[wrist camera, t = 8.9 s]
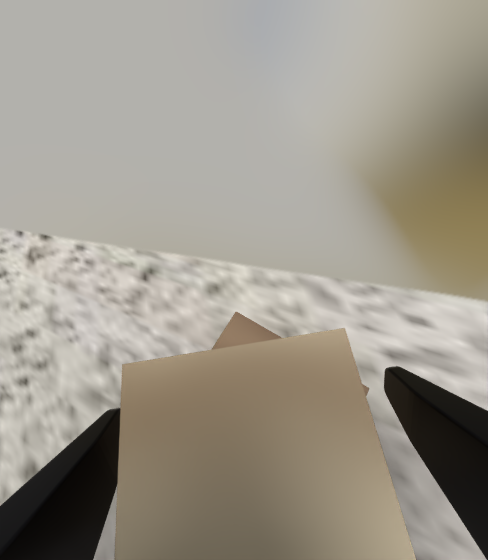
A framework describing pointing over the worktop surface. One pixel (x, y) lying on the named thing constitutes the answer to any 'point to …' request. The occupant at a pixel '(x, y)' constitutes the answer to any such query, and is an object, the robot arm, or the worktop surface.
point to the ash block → (254, 457)
